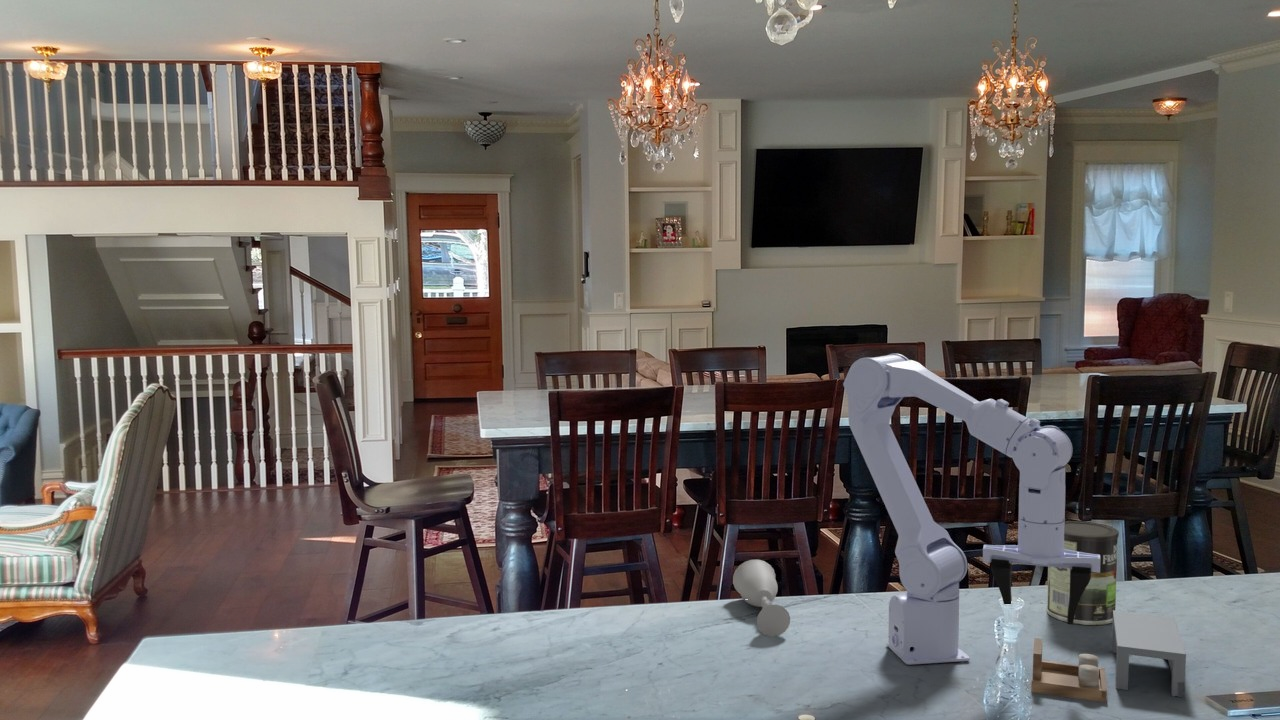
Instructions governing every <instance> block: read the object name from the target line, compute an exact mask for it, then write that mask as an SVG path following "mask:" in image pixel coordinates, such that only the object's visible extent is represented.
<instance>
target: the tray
mask: <svg viewBox="0 0 1280 720" xmlns="http://www.w3.org/2000/svg"><path fill="white" fill-rule="evenodd" d="M1032 658H1033V659H1032V676H1031V678H1032V679H1031V691H1030V692H1031V693H1038V694H1044V695H1045V694H1046V695H1050V696H1058V697H1059V696H1060V697H1065V698H1066V697H1067V698H1073V699H1079V700H1088V701H1095V702H1101V703H1107V698H1108V697H1107V696H1108V695H1107V694H1108V690H1107V679H1106V677H1107V676H1106V669H1105V668H1104V667H1099V656H1098V655H1094V654H1090V653H1081V654H1079V655H1078V664H1075V663H1074V664H1073V663H1067V662H1066V663H1065V662H1058V661H1051V660H1050V661H1049V660H1044V659H1043V638H1037V637H1034V642H1033V655H1032Z"/></svg>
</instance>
